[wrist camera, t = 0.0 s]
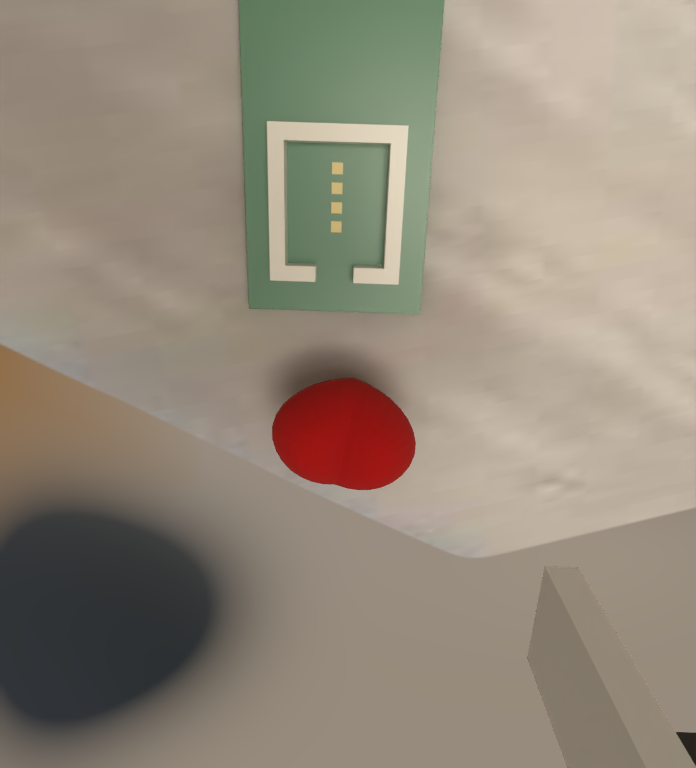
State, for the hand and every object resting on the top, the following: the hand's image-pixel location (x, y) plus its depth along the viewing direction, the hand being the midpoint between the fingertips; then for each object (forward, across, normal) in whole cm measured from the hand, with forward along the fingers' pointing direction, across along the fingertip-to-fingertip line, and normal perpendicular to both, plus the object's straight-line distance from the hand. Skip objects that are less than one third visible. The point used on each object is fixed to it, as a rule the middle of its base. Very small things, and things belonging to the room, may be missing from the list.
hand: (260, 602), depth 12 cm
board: (+28, +1, +11) cm, 30 cm away
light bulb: (+28, +2, -6) cm, 29 cm away
